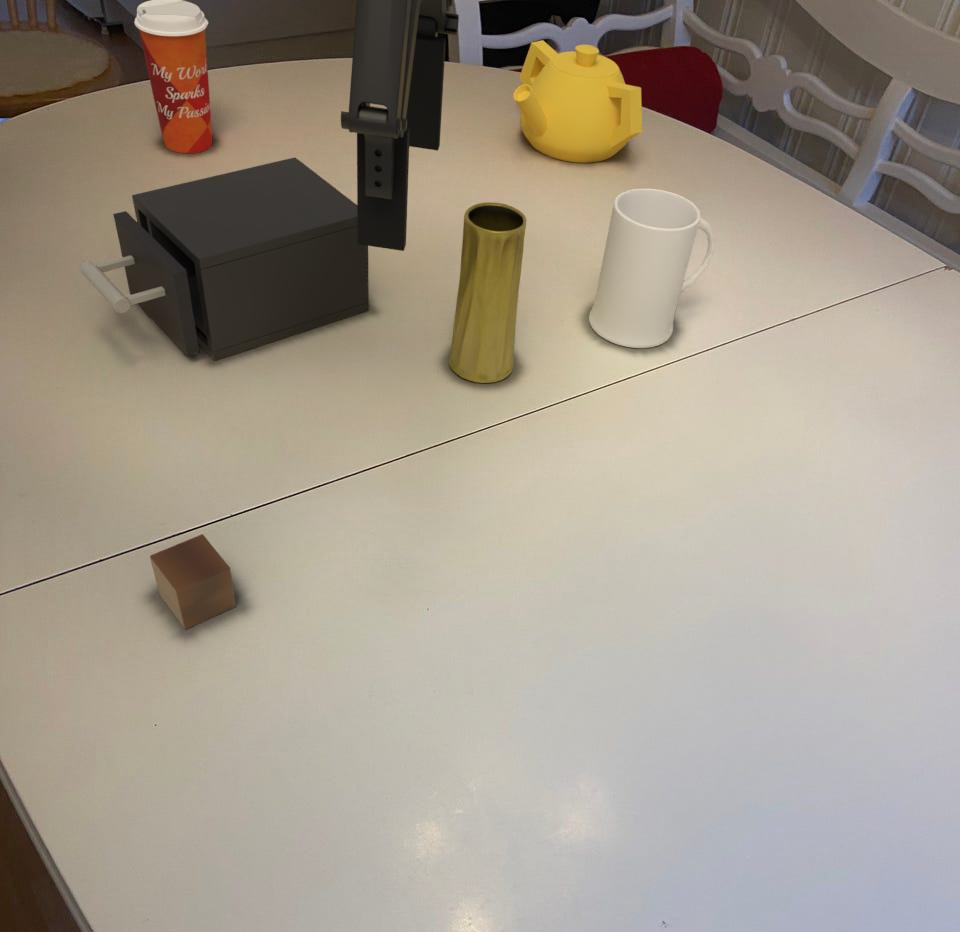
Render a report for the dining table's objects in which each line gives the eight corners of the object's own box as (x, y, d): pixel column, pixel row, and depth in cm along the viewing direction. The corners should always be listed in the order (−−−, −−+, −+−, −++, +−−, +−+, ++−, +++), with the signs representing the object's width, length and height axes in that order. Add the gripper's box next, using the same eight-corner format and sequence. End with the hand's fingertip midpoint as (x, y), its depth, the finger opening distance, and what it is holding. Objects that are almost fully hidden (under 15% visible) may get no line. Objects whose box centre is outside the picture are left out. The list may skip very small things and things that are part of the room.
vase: (469, 339, 93) (482, 192, 82) (524, 361, 91) (545, 214, 80) (436, 368, 89) (445, 219, 78) (493, 392, 88) (510, 243, 77)
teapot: (457, 132, 123) (463, 36, 114) (556, 103, 132) (568, 11, 123) (568, 195, 114) (584, 96, 106) (666, 158, 123) (688, 64, 115)
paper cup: (162, 160, 111) (140, 23, 100) (148, 132, 115) (125, -2, 105) (229, 153, 114) (214, 19, 103) (213, 126, 118) (197, -5, 107)
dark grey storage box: (214, 361, 87) (199, 259, 80) (150, 295, 93) (131, 194, 86) (368, 310, 95) (368, 213, 87) (301, 252, 101) (295, 156, 93)
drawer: (137, 371, 84) (119, 288, 78) (82, 308, 89) (61, 226, 83) (336, 308, 93) (333, 229, 87) (274, 254, 98) (268, 176, 92)
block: (185, 630, 67) (176, 591, 64) (159, 594, 69) (149, 555, 66) (236, 606, 69) (230, 567, 66) (210, 572, 71) (202, 533, 67)
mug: (680, 296, 101) (710, 182, 92) (715, 341, 96) (751, 226, 87) (576, 305, 99) (597, 188, 89) (607, 352, 93) (632, 234, 84)
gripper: (460, -209, 36) (430, 305, 52) (521, -295, 52) (483, 119, 68) (262, -238, 36) (294, 285, 52) (383, -315, 52) (379, 103, 68)
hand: (401, 192), depth 60 cm, fingers open, 13 cm apart
